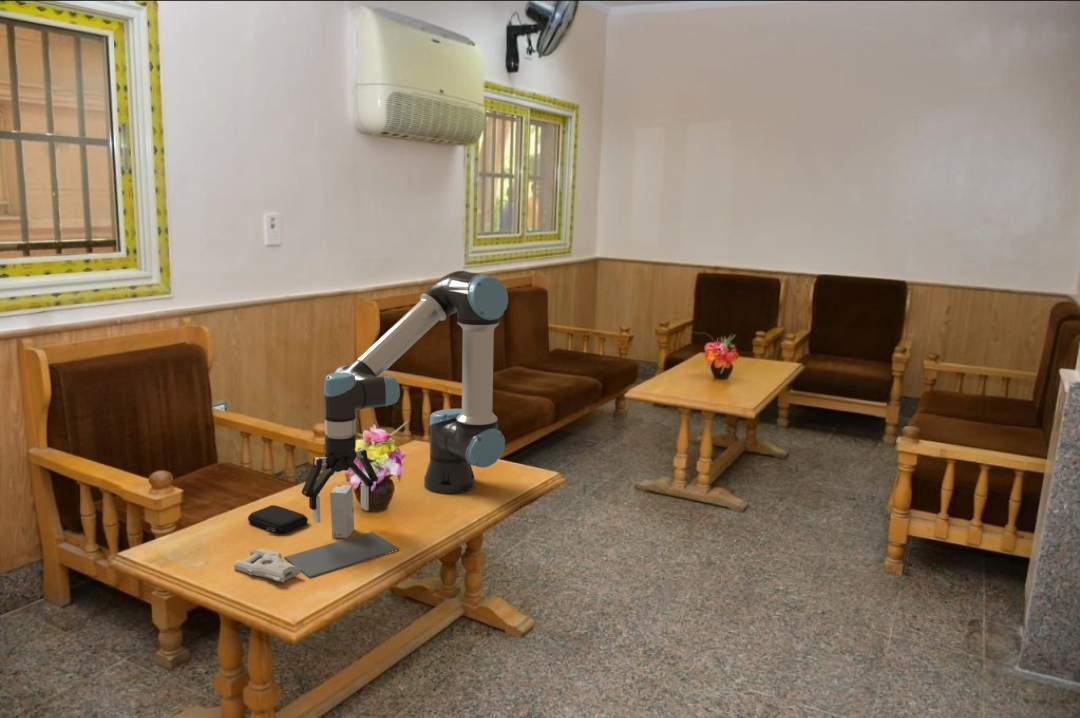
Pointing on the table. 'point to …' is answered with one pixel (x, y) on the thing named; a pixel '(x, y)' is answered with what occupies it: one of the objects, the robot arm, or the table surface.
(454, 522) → the table surface
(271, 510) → the carrying case or bag
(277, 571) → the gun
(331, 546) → the mat
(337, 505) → the skincare box
